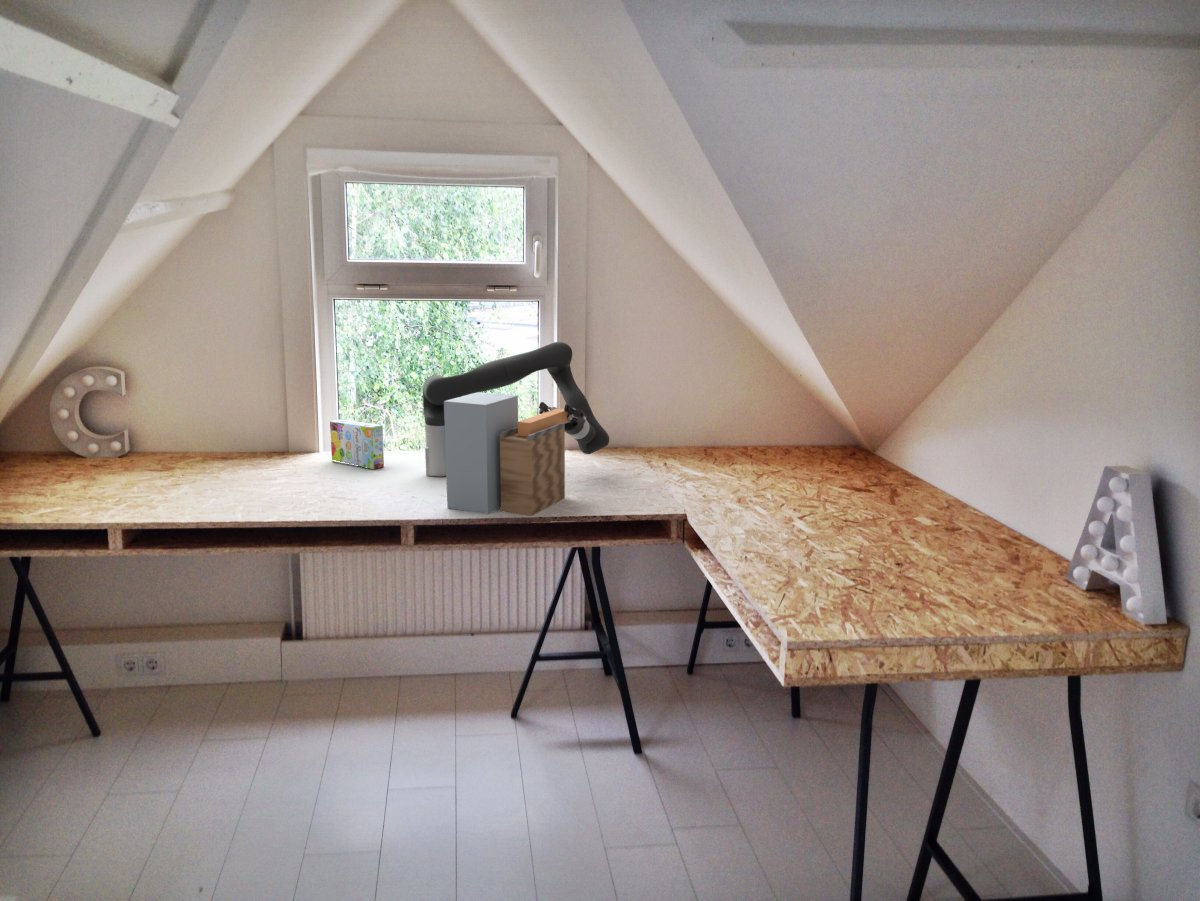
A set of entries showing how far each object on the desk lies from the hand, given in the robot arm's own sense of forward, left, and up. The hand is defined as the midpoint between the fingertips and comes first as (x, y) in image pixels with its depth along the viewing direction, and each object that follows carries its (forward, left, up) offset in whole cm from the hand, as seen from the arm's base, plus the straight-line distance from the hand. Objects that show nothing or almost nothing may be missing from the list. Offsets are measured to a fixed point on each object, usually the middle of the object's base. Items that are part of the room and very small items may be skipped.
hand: (553, 405), depth 287 cm
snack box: (-67, +44, -28) cm, 85 cm away
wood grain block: (-6, -11, -28) cm, 31 cm away
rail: (-3, -5, -6) cm, 9 cm away
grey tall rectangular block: (-21, -9, -28) cm, 36 cm away
